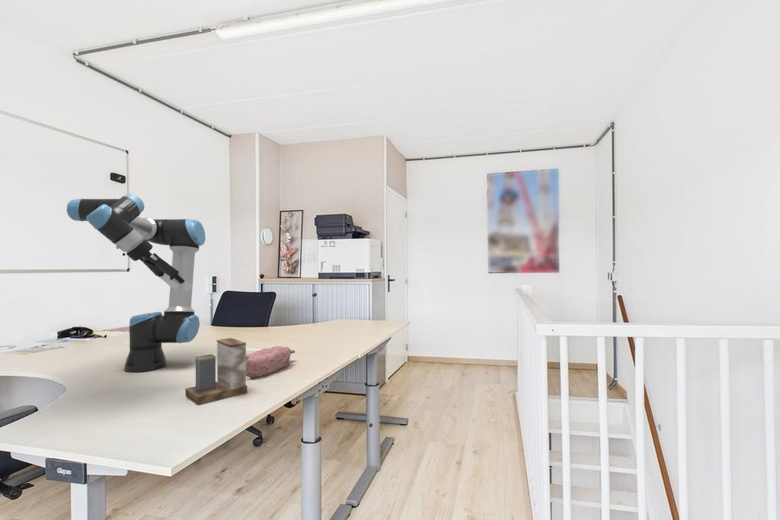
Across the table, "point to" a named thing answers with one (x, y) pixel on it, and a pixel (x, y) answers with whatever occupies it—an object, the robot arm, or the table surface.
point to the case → (205, 373)
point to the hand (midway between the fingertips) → (183, 288)
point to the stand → (225, 373)
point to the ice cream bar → (267, 361)
